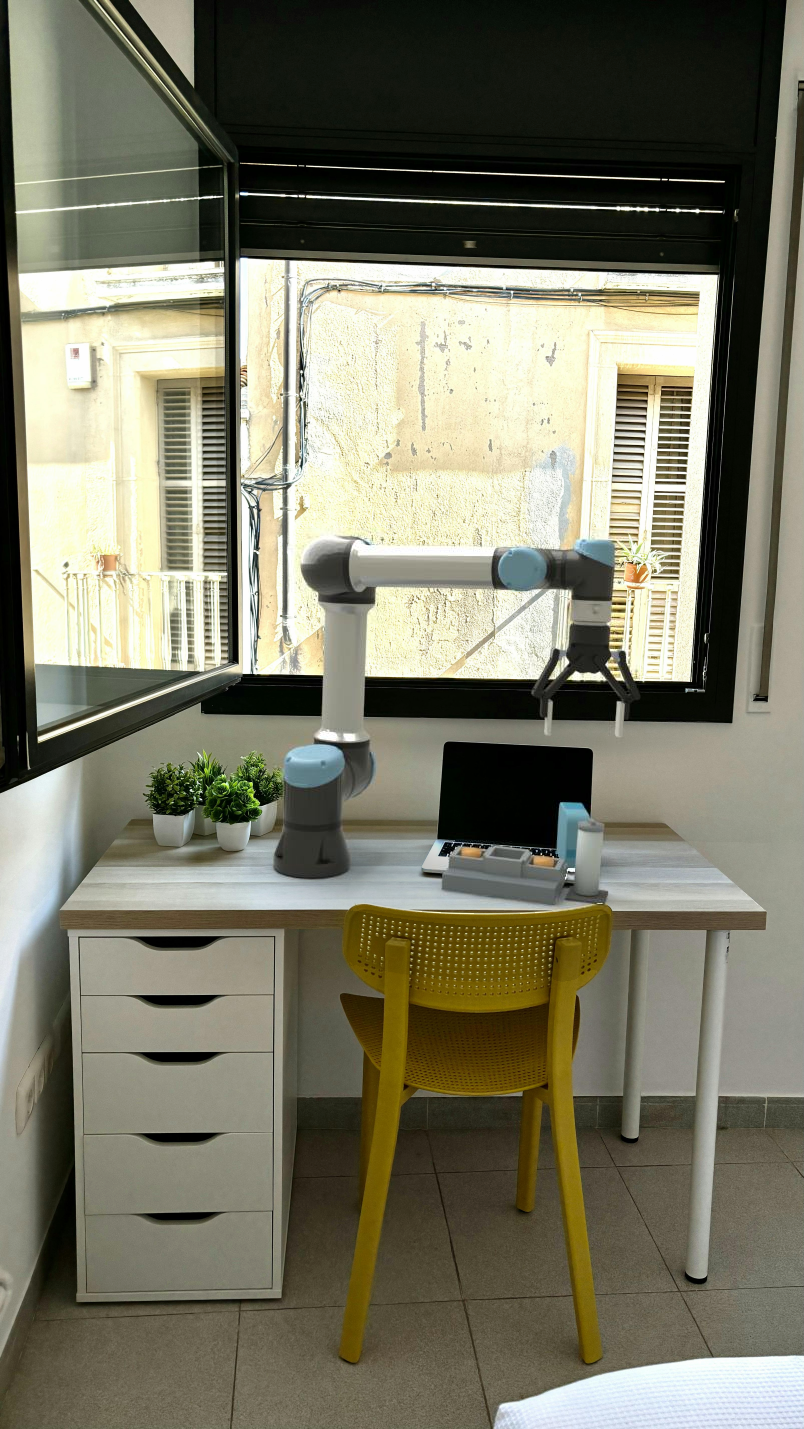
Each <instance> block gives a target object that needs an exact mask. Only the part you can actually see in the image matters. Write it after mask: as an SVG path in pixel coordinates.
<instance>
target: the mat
mask: <svg viewBox="0 0 804 1429" xmlns="http://www.w3.org/2000/svg"><path fill="white" fill-rule="evenodd" d="M573 888H574V885H573V886H572V885H570V886H569V889H568V891H567V894H566V895H565V897H564V901H572V902H579V903H584V904H585V903H586V904H593V905H598V904H597V903H603V904H604V905H605V902H606V900H607V897H608V893H609V891H608V890H606V889H605V890H604V889H603V890H602V889H599V891H598V895H594V896H586V895H580V894H577V893H575V892H574V891H573Z"/></svg>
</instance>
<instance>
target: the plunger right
mask: <svg viewBox="0 0 804 1429" xmlns="http://www.w3.org/2000/svg"><path fill="white" fill-rule="evenodd" d="M536 856H537V857H534V861H533V865H538V866H546V867H553V868H554V859H553V858H554V857H552V856H551V857H550V856H545V855H536Z"/></svg>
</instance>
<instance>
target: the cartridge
mask: <svg viewBox="0 0 804 1429" xmlns="http://www.w3.org/2000/svg"><path fill="white" fill-rule="evenodd" d="M604 832H605V823H603V822H598V821H596V820H594V819H593V818H592V817H590V818H587V821H579V822H578V838H577V850H576V863H575V872H574V874H573V875H574V876H573V877H574V878H573V886H574V888H573V891H574V892H575V893H577V894H580V895H586V896H594V895H598V891H599V890H600V889H599V888H600V876H601V875H600V874H601V865H602V856H603V855H602V853H603V840H604Z"/></svg>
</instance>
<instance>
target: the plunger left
mask: <svg viewBox="0 0 804 1429" xmlns="http://www.w3.org/2000/svg"><path fill="white" fill-rule="evenodd" d="M466 847H467V848H463V849H462V852H461V856H466V857H474V858H481V850H480V849H481V848H478V847H468V846H466Z"/></svg>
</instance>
